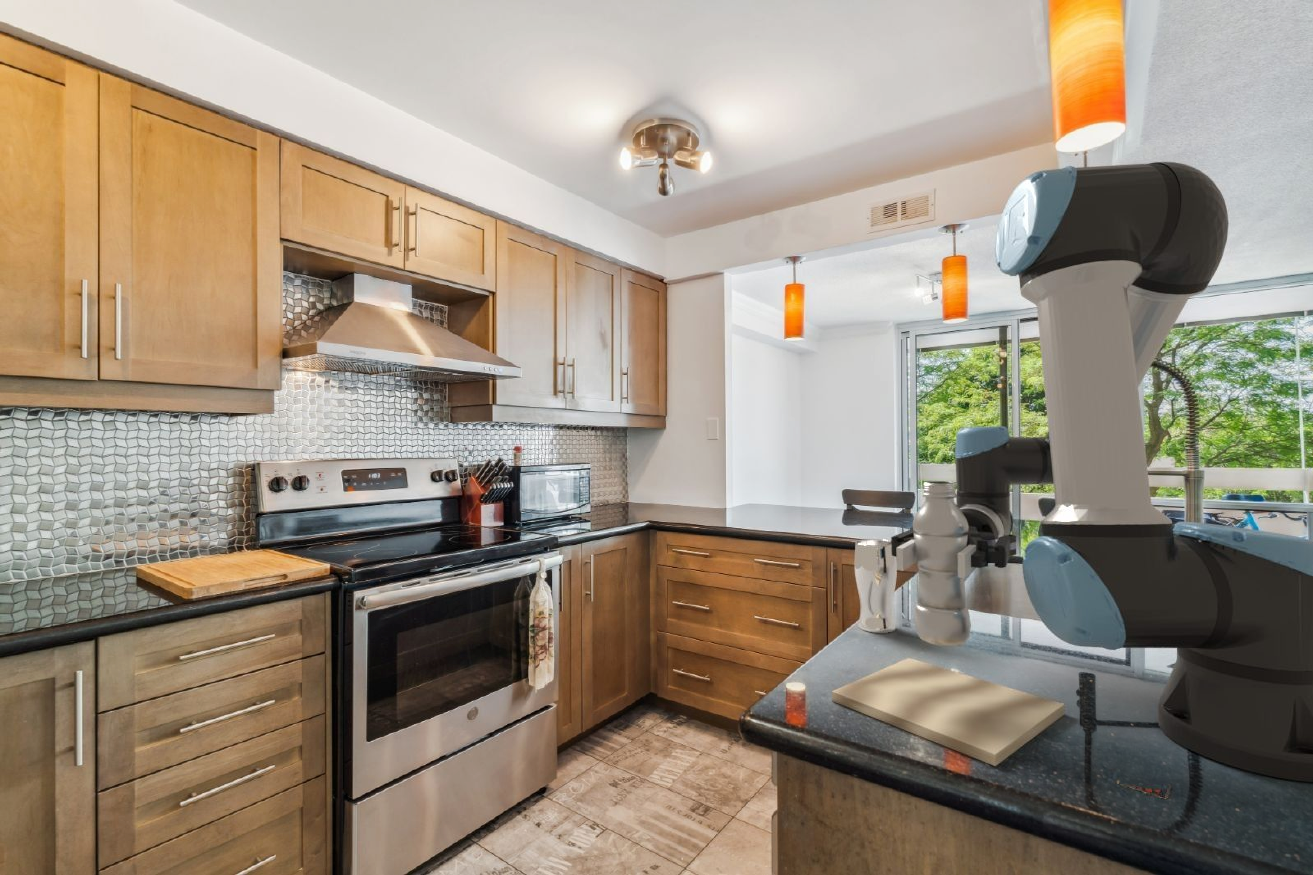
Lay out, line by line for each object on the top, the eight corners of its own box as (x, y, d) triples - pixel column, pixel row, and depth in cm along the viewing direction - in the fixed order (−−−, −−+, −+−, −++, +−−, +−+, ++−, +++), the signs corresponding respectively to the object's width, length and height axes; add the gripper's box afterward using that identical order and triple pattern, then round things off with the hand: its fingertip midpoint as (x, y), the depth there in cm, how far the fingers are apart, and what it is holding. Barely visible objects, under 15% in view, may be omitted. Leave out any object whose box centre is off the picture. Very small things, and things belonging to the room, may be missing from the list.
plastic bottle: (911, 648, 74) (908, 484, 74) (916, 631, 80) (913, 479, 80) (971, 656, 71) (968, 485, 71) (971, 638, 77) (968, 480, 77)
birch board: (1064, 714, 73) (1064, 704, 73) (995, 766, 62) (995, 754, 62) (908, 666, 89) (908, 657, 89) (831, 700, 78) (831, 691, 78)
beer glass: (891, 621, 109) (889, 538, 109) (903, 634, 103) (901, 545, 102) (851, 621, 110) (850, 538, 110) (861, 634, 103) (859, 545, 103)
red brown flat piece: (1168, 779, 59) (1168, 774, 59) (1178, 807, 55) (1178, 802, 55) (1109, 767, 62) (1108, 762, 62) (1114, 793, 58) (1113, 788, 58)
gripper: (1047, 566, 84) (1024, 607, 66) (903, 551, 95) (850, 583, 77) (1046, 512, 84) (1023, 538, 65) (902, 504, 95) (849, 524, 77)
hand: (929, 562), depth 71 cm, fingers closed on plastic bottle, 6 cm apart
